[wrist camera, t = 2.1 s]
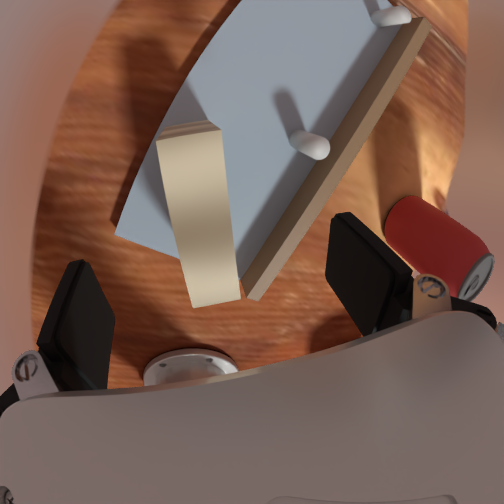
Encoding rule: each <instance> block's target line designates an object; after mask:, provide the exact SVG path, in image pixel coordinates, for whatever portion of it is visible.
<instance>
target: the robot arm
mask: <svg viewBox="0 0 504 504" xmlns="http://www.w3.org/2000/svg"><path fill="white" fill-rule="evenodd" d="M412 272H413V270H412V269H411V268H410V267H409V266H408V265H407V264H406V263H405V262H404V261H403V260H402V259H401V258H400V257H399V256H398V255H397V254H396V253H395V252H394V251H393V250H392V249H391V248H389V247H388V246H387V245H386V244H385V243H384V242H383V241H382V240H381V239H380V238H379V237H378V236H377V235H376V234H374V233H373V232H372V231H371V230H370V229H369V228H368V227H367V226H366V225H365V224H363V223H362V222H361V221H360V220H359V219H358V218H357V217H355V216H354V215H353V214H352V213H351V212H345V213H338V214H336V215H335V216H334V218H332V219H331V224H330V234H329V244H328V253H327V262H326V270H325V276H326V280H327V282H328V283H329V285H330V286H331V288H332V289H333V291H334V292H335V294H336V295H337V297H338V298H339V300H340V301H341V303H342V304H343V306H344V307H345V309H346V310H347V312H348V313H349V315H350V316H351V318H352V319H353V321H354V322H355V324H356V325H357V327H358V329H359V330H360V332H361V333H362V335H363V336H364V337H361V338H359V339H356V340H353V341H350V342H347V343H344V344H341V345H338V346H335V347H331V348H328V349H325V350H322V351H318V352H315V353H311V354H308V355H304V356H301V357H297V358H293V359H290V360H286V361H282V362H278V363H274V364H270V365H266V366H262V367H257V368H253V369H248V370H244V371H239V370H238V367H237V365H236V363H235V362H234V361H233V360H232V359H231V358H229V357H228V356H226V355H224V354H221V353H219V352H216V351H212V350H207V349H180V350H175V351H170V352H167V353H164V354H162V355H160V356H158V357H156V358H154V359H153V360H152V361H150V362H149V363H148V364H147V366H146V367H145V370H144V373H143V381H144V385H145V386H142V387H131V388H118V389H107V383H108V372H109V362H110V354H111V346H112V339H113V332H114V325H115V316H114V313H113V311H112V309H111V307H110V305H109V303H108V301H107V299H106V297H105V295H104V293H103V291H102V289H101V287H100V285H99V283H98V281H97V279H96V276H95V274H94V272H93V270H92V268H91V265H90V264H89V263H88V262H85V261H84V260H83V259H82V260H77V261H73V262H70V263H69V264H68V266H67V268H66V270H65V272H64V275H63V277H62V279H61V281H60V283H59V286H58V288H57V290H56V292H55V295H54V297H53V300H52V302H51V305H50V307H49V310H48V312H47V315H46V317H45V320H44V323H43V325H42V328H41V331H40V334H39V337H38V340H37V343H36V344H37V345H38V346H39V350H38V352H37V351H35V350H29V351H26V352H24V353H23V354H21V355H20V356H19V357H18V358H17V360H16V361H15V363H14V365H13V368H12V378H13V381H14V383H13V384H12V385H11V386H10V387H9V388H8V389H7V390H6V391H5V392H4V393H3V394H2V395H1V396H0V504H504V324H502V323H500V322H499V323H498V324H497V322H496V318H495V316H494V315H493V313H492V312H491V311H490V310H489V309H488V308H487V307H484V306H482V305H479V304H475V303H472V302H469V301H466V300H463V299H459V298H456V297H453V296H450V291H449V288H448V286H447V284H446V283H445V282H444V281H443V280H442V279H440V278H439V277H437V276H434V275H432V274H420V275H418V276H416V278H415V279H414V278H413V277H412V276H411V275H412Z"/></svg>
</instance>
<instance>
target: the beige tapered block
mask: <svg viewBox="0 0 504 504" xmlns="http://www.w3.org/2000/svg"><path fill="white" fill-rule="evenodd" d="M156 145H157V151H158V157H159V163H160V169H161V174H162V179H163V185H164V190H165V195H166V200H167V205H168V209H169V214H170V219H171V223H172V228H173V232H174V237H175V241H176V245H177V249H178V253H179V257H180V261H181V265H182V269H183V273H184V277H185V281H186V285H187V288H188V292H189V296H190V299H191V303H192V306H193V308H197V307H202V306H207V305H213V304H218V303H223V302H228V301H233V300H238V299H241V297H240V289H239V281H238V273H237V265H236V257H235V249H234V240H233V232H232V223H231V214H230V206H229V197H228V188H227V178H226V169H225V160H224V150H223V140H222V130H221V129H220V128H218V127H217V126H216V125H214V124H213V123H212V122H210V121H209V120H204V121H197V122H191V123H185V124H179V125H173V126H168V127H165V128H164V130H163V131H162V133H161V134H160V136H159V137H158V138H157V140H156Z"/></svg>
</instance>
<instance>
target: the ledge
mask: <svg viewBox="0 0 504 504" xmlns="http://www.w3.org/2000/svg"><path fill="white" fill-rule="evenodd" d="M431 27H432V26H431V25H430V23H429V22H428V21H427V20H426V19H425V17H418V18H411V14H410V12H409V11H408V9H407V8H406V7H404V6H401V5H400V6H395V7H394V6H393V5H392V4H391V3H390V2H389V1H387V0H242V1H241V2H240V3H239V4H238V5H237V7H236V8H235V9H234V10H233V12H232V13H231V14H230V15H229V17H228V18H227V19H226V21H225V22H224V23H223V25H222V26H221V27H220V29H219V30H218V31H217V33H216V34H215V36H214V37H213V38H212V40H211V41H210V43H209V44H208V46H207V47H206V48H205V50H204V51H203V53H202V54H201V56H200V57H199V59H198V60H197V62H196V64H195V65H194V67H193V68H192V70H191V71H190V73H189V75H188V76H187V78H186V80H185V81H184V83H183V85H182V86H181V88H180V90H179V91H178V93H177V95H176V97H175V98H174V100H173V102H172V104H171V106H170V107H169V109H168V111H167V113H166V115H165V117H164V119H163V121H162V123H161V125H160V126H159V128H158V130H157V132H156V134H155V137H154V139H153V141H152V143H151V145H150V147H149V149H148V151H147V153H146V156H145V158H144V160H143V162H142V164H141V167H140V169H139V171H138V174H137V176H136V178H135V181H134V183H133V186H132V188H131V191H130V193H129V196H128V198H127V201H126V203H125V206H124V209H123V211H122V214H121V217H120V220H119V223H118V225H117V228H116V231H115V234H114V235H117V236H119V237H122V238H124V239H127V240H130V241H132V242H135V243H138V244H140V245H143V246H146V247H148V248H151V249H154V250H157V251H159V252H162V253H165V254H168V255H170V256H173V257H176V258H179V259H180V257H179V253H178V249H177V245H176V241H175V237H174V232H173V228H172V223H171V219H170V214H169V209H168V205H167V200H166V195H165V190H164V185H163V179H162V174H161V169H160V163H159V157H158V151H157V145H156V140H157V138H158V137H159V136H160V134H161V133H162V131H163V130H164V128H165V127H168V126H173V125H179V124H185V123H191V122H197V121H204V120H209V121H210V122H212V123H213V124H214V125H216V126H217V127H218V128H220V129H221V130H222V140H223V150H224V160H225V169H226V178H227V188H228V197H229V206H230V214H231V223H232V232H233V240H234V249H235V257H236V265H237V273H238V279H239V280H241V283H242V286H243V289H244V292H245V295H246V298H249V299H252V300H256V301H259V300H260V298H261V297H262V295H263V294H264V293H265V291H266V290H267V288H268V287H269V286H270V284H271V283H272V281H273V280H274V278H275V277H276V276H277V274H278V273H279V271H280V270H281V268H282V267H283V266H284V264H285V263H286V261H287V260H288V258H289V257H290V255H291V254H292V253H293V251H294V250H295V248H296V247H297V245H298V244H299V242H300V241H301V239H302V238H303V236H304V235H305V234H306V232H307V231H308V229H309V228H310V226H311V225H312V223H313V222H314V220H315V219H316V217H317V216H318V214H319V213H320V211H321V210H322V208H323V207H324V205H325V204H326V202H327V201H328V199H329V197H330V196H331V194H332V193H333V191H334V190H335V188H336V187H337V185H338V184H339V182H340V181H341V179H342V177H343V176H344V174H345V173H346V171H347V170H348V168H349V167H350V165H351V163H352V162H353V160H354V159H355V157H356V156H357V154H358V152H359V151H360V149H361V148H362V146H363V144H364V143H365V141H366V140H367V138H368V136H369V135H370V133H371V131H372V130H373V128H374V127H375V125H376V123H377V122H378V120H379V118H380V117H381V115H382V113H383V112H384V110H385V108H386V107H387V105H388V103H389V102H390V100H391V98H392V97H393V95H394V93H395V91H396V90H397V88H398V86H399V85H400V83H401V81H402V79H403V78H404V76H405V74H406V73H407V71H408V69H409V67H410V65H411V64H412V62H413V60H414V58H415V57H416V55H417V53H418V51H419V49H420V48H421V46H422V44H423V42H424V40H425V38H426V37H427V35H428V33H429V31H430V29H431Z"/></svg>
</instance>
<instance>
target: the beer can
mask: <svg viewBox="0 0 504 504" xmlns="http://www.w3.org/2000/svg"><path fill="white" fill-rule="evenodd" d="M384 234H385V238H386V241H387V243H388V244H389V245H390V246H391V247H392V248H393V249H394V250H395V251H396V252H397V253H398V254H400V255H401V256H402V257H403V258H404V259H405V260H406V261H407V262H408V263H409V264H411V265H412V266H413V267H414V268H415V269H416V270H417V271H418V272H419V273H420V274H432V275H434V276H437V277H439V278H440V279H442V280H443V281H444V282H445V283H446V284H447V286H448V288H449V291H450V296H453V297H456V298H459V299H463V300H466V301H469V302H471V301H472V300H474V299H475V298H476V296H477V295H478V294H479V293H480V292H481V291H482V289H483V288H484V286H485V285H486V283H487V282H488V280H489V278H490V276H491V273H492V270H493V267H494V262H495V261H494V256H493V255H492V254H491V253H490V252H489V250H488V248H487V246H486V245H485V243H484V242H483V241H482V240H481V239H480V238H479V237H478V236H477V235H475V234H474V233H472V232H471V231H470V230H468V229H467V228H465V227H464V226H463V225H461V224H460V223H458V222H457V221H455V220H454V219H452V218H451V217H449V216H448V215H446V214H445V213H443V212H442V211H440V210H439V209H437V208H436V207H434V206H432V205H431V204H429V203H428V202H426V201H424V200H423V199H421V198H419V197H418V196H408V197H405V198H403V199H401V200H400V201H398V202H397V203H396V204H395V205H394V207H393V208H392V209H391V211H390V212H389V214H388V216H387V219H386V223H385V233H384Z"/></svg>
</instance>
